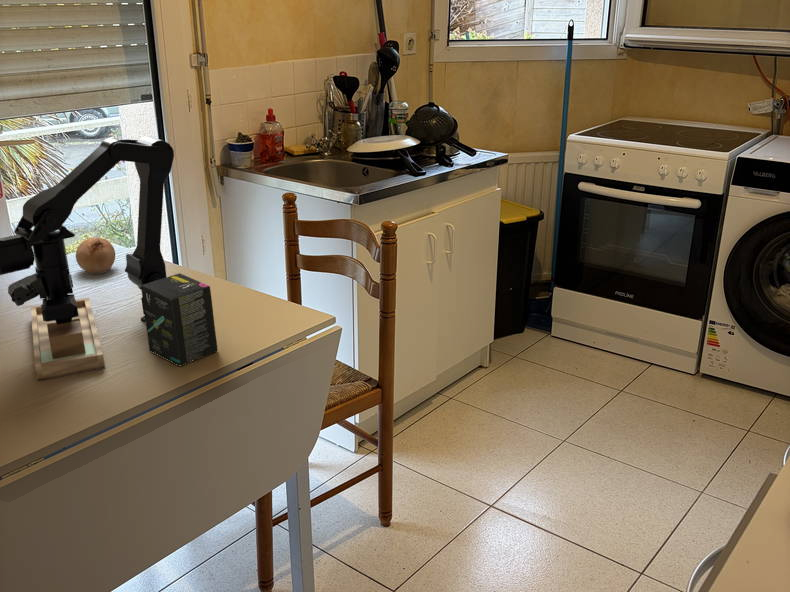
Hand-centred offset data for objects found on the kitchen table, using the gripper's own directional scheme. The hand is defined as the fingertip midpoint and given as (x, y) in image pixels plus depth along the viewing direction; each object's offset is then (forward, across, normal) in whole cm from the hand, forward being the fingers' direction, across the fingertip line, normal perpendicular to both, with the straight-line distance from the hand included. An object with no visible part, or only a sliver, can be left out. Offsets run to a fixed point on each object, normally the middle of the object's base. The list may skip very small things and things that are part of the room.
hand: (64, 334), depth 158 cm
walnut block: (+1, +5, 0) cm, 5 cm away
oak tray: (+3, -2, 0) cm, 4 cm away
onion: (+3, -42, +10) cm, 43 cm away
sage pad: (+3, +8, 0) cm, 8 cm away
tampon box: (+3, +12, +21) cm, 25 cm away
